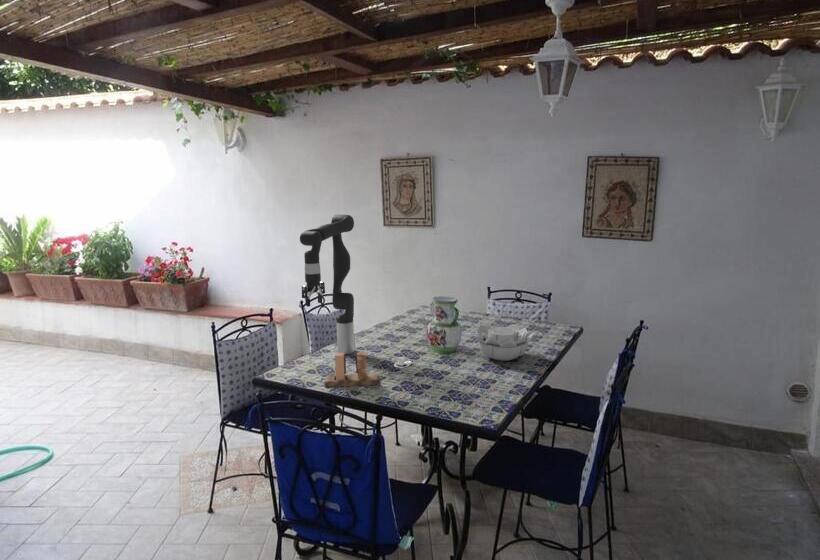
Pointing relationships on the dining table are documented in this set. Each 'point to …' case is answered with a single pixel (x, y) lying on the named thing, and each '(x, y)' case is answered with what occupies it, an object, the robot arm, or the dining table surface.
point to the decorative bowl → (502, 341)
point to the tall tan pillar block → (340, 366)
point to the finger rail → (354, 375)
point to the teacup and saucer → (402, 362)
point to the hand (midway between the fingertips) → (314, 304)
